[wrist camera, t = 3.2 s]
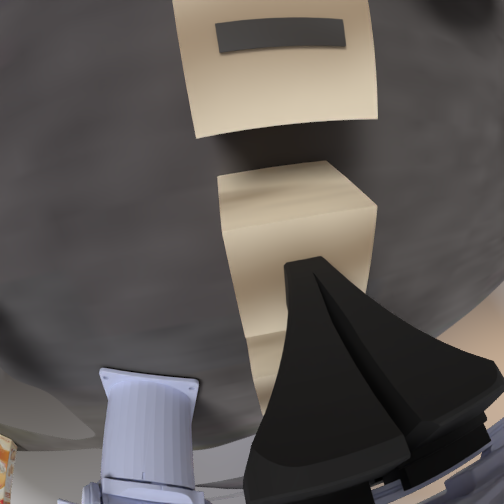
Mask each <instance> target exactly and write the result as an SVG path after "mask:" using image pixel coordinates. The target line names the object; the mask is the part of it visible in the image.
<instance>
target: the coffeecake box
mask: <svg viewBox="0 0 504 504" xmlns="http://www.w3.org/2000/svg"><path fill="white" fill-rule="evenodd" d="M16 452H17V446H16V445H15V443H14V442H13V441H12V440H11V439H9V438H7V437H5V436H3V435H1V434H0V504H10V498H11V487H12V478H13V470H14V464H15V458H16Z"/></svg>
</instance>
